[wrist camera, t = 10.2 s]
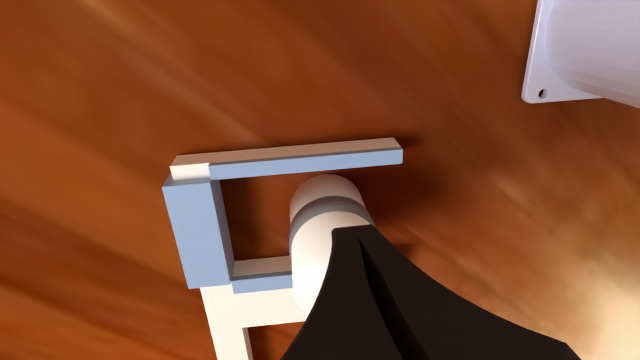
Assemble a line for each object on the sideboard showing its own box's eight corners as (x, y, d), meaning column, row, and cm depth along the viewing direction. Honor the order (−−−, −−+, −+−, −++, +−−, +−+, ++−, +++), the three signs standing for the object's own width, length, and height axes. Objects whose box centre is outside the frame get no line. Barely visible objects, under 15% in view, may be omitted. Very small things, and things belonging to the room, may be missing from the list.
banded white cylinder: (374, 182, 23) (410, 253, 16) (349, 244, 24) (373, 330, 18) (299, 164, 22) (306, 232, 15) (279, 230, 23) (279, 316, 17)
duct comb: (393, 137, 21) (404, 151, 19) (386, 367, 30) (393, 394, 28) (169, 155, 21) (157, 172, 19) (226, 386, 29) (222, 415, 27)
